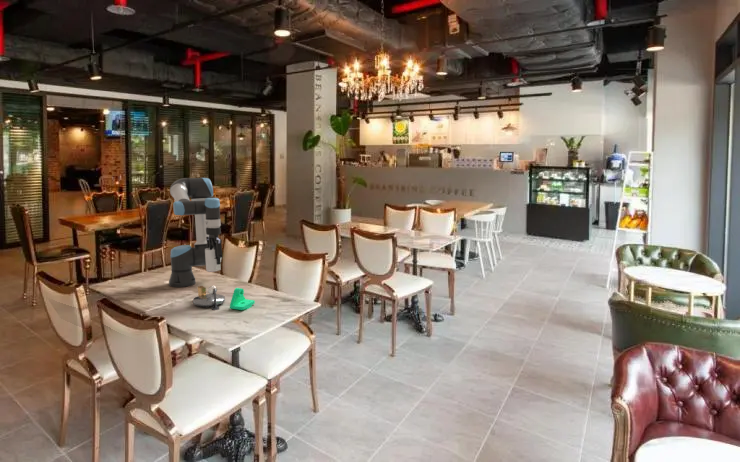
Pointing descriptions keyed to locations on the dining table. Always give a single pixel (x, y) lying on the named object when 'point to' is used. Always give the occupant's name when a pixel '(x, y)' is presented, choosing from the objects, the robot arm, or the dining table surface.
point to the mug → (210, 260)
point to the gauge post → (212, 291)
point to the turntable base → (207, 306)
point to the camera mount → (240, 300)
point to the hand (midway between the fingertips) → (215, 268)
